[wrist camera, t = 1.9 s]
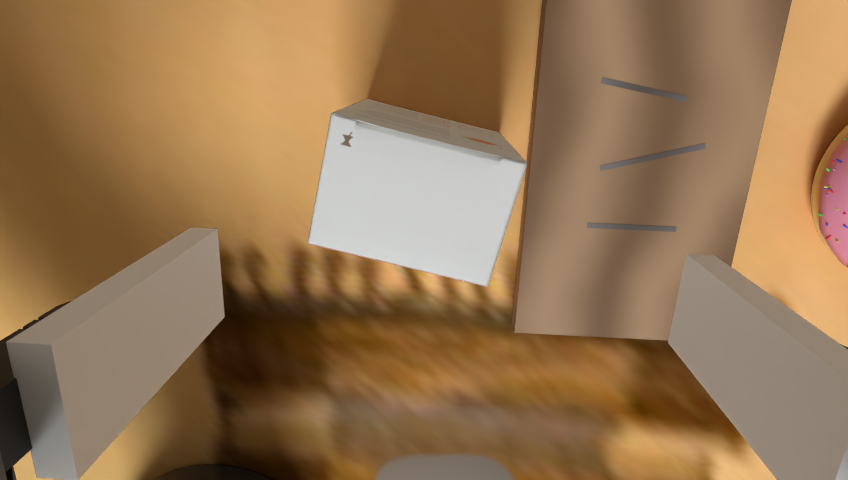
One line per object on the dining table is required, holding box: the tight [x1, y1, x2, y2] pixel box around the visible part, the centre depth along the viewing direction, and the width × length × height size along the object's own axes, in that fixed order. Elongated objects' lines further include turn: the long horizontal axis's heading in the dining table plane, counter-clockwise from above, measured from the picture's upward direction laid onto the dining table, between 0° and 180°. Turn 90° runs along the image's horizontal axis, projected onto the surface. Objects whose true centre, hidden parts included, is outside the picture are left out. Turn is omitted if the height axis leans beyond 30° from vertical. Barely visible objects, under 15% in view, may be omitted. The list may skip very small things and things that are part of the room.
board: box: [512, 0, 792, 340], centre depth 30 cm, size 12×20×2 cm, turn 178°
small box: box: [308, 99, 527, 287], centre depth 26 cm, size 8×6×10 cm
